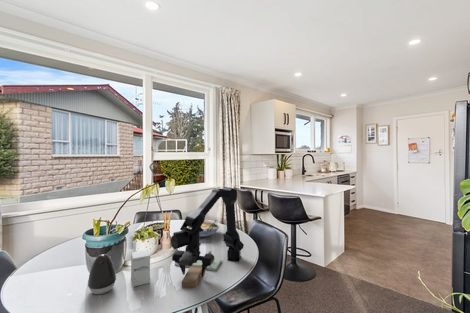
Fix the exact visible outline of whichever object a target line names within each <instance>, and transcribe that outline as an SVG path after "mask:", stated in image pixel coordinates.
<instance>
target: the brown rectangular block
mask: <svg viewBox="0 0 470 313" xmlns="http://www.w3.org/2000/svg"><path fill="white" fill-rule="evenodd" d="M201 278H202V266H201V265H192V266H190V267H188V269H187V272H185V274H184V277H183V278H182V280H181V288H182V289H184V288H185V289H196V287H197V286H198V283H199V280H200V279H201Z"/></svg>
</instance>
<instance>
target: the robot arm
mask: <svg viewBox="0 0 470 313" xmlns="http://www.w3.org/2000/svg"><path fill="white" fill-rule="evenodd" d="M219 199H222V202H223V203H224V206H225V220H226V232H225V233H223V234H222V236H223V242H224V244H225V246H226V247H227V248H228V249H227V253H226V254H227V261H231V262H240V260H241V259H242V255H241V252H242V250H243V249H244V245H245V244H244V243H243V242H242V241H241V238H240V234H239V232H238V230H237V225H236V224H237V223H236V222H237V221H236V210H235V209H236V207H235V203H236V202H237V200H238V191H237V189H236V188H235V187H234V188H232V187H229V186H225V187H223V188H214V189H212V190H211V192H210V193H209V195H207V197H206V198H205V199H204V201H202V203H201V204H200V205H199V206H198V208H196V209H195V210H193V211H190V213H189V214H187V215H186V217H185V218H184V221H183V223H182V225H181V227H180V228H179V230H180V231H175V232H173V234H172V236H171V237H170V246H171V248H173V250H177V251H175V252H174V253H173V254H172V256H171V260H172V262H174V264H175V263H178V264H179V266H178V267H180V270H181V273H182V275H183V276H185V275H186V267H185V265H186V266H192V264H193V263H197V261H198V260H200V261H202V265H201V266H202V275H201V278H203V277H204V276H205V273H206V271H207V270H206V268H207V267H208V266H210V265H211V264H212V263H213V261H214V259H215V256H214V253H213V254H212V253H211V254H208V253H205V255H201V251H200V250H201V249H200V248H201V242H200V240H201V239H200V238H201V237H200V232H202V231H204V230H203V229H202V228H201V225H202V224H203V222H204V220H206V216H207V214H208V213H209V212H210V210H212V208H213V207H214V206H215V204H216V203H217V202H218V201H219ZM187 226H188V227H191V228H192V229H189V228H188V227H187ZM182 247H185V250H178V249H180V248H182Z"/></svg>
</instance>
